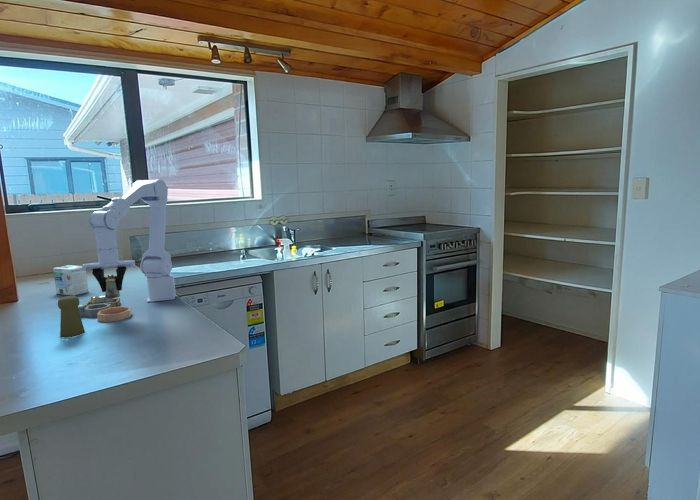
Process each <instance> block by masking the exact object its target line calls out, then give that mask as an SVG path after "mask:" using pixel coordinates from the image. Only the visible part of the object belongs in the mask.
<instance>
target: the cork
mask: <svg viewBox="0 0 700 500" xmlns="http://www.w3.org/2000/svg"><path fill="white" fill-rule="evenodd" d="M79 305H80V299H79V298H78V297H77V295H74V296H71V295H65V296H64V297H61V298H59V299H58V301H57V307H58V309H59V310H60V323H59V324H60V326H59V327H60V328H59V330H60V331H59V333H60V334H59V335H60V336H59V337H60V338H64V339H65V338H73V337H78V336H82V335H84V334H85V333H86V330H85V327H84V325H83V320H82V317H80V313H79V310H78V306H79Z"/></svg>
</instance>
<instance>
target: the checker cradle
mask: <svg viewBox="0 0 700 500" xmlns="http://www.w3.org/2000/svg"><path fill="white" fill-rule="evenodd" d="M84 305H85V304H79V306H78V310H79V313H80V317H81V318H82V317H88V318H96V317H97V313H98V312H99V311H101V310H104V309H108V308H111V304H106V303H102V304H94V305H90V306H87V307H85V306H84ZM100 307H102V308H100ZM94 308H97V309H94Z"/></svg>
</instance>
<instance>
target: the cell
mask: <svg viewBox="0 0 700 500" xmlns="http://www.w3.org/2000/svg"><path fill="white" fill-rule="evenodd" d="M103 279H104V286H105V292H104V293H105V294H104V295H106V298H114V299H115V298H120V297H121V292H120V291H121V290H120V291H119V290H118V278H117V274H116V275H115V274H113V273H111V274H107V276H104V278H103Z"/></svg>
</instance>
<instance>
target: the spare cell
mask: <svg viewBox="0 0 700 500" xmlns="http://www.w3.org/2000/svg"><path fill="white" fill-rule="evenodd" d="M114 299H115V298H106V295H105V294H104V295H94V296H91V297H90V300H89V301H90V304H100V303H109V302H115V300H114Z"/></svg>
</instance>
